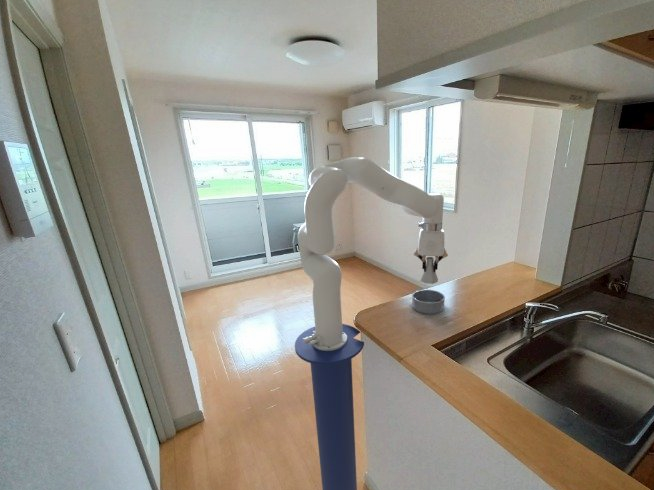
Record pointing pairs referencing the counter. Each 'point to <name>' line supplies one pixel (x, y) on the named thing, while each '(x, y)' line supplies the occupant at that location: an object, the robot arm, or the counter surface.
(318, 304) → the robot arm
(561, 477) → the counter surface
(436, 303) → the bowl
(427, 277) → the flask
